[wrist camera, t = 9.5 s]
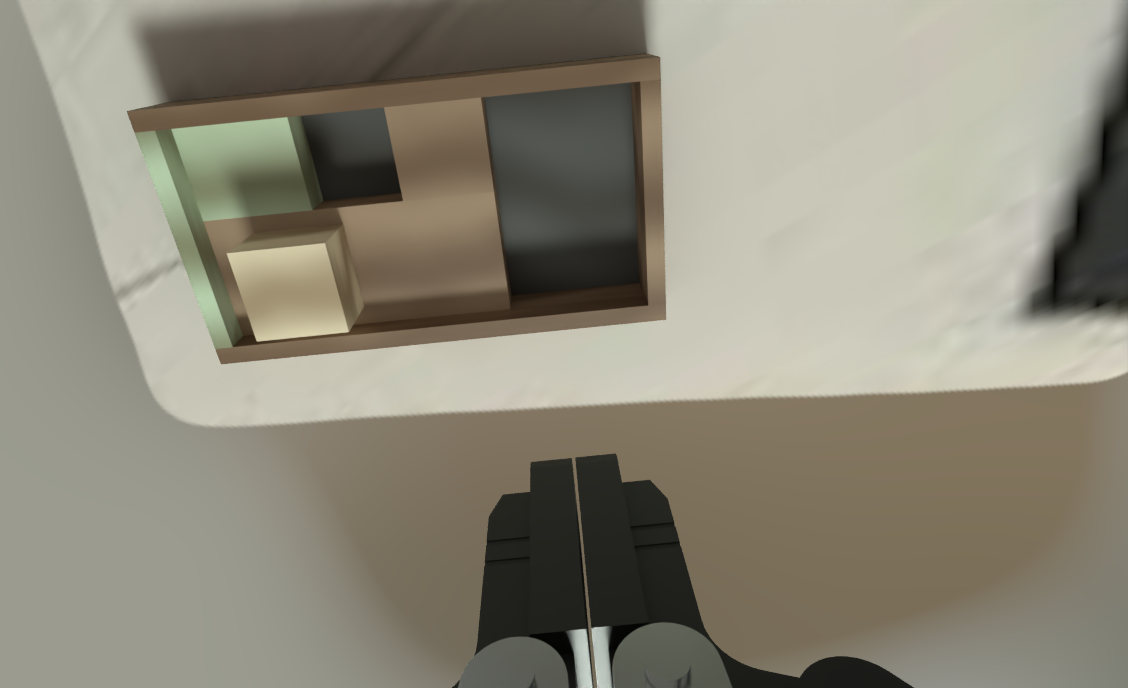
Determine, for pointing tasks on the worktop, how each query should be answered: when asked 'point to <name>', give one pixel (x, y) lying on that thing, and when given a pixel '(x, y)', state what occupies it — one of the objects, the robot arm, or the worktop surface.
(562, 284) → the channel
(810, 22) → the worktop surface
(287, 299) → the birch block
